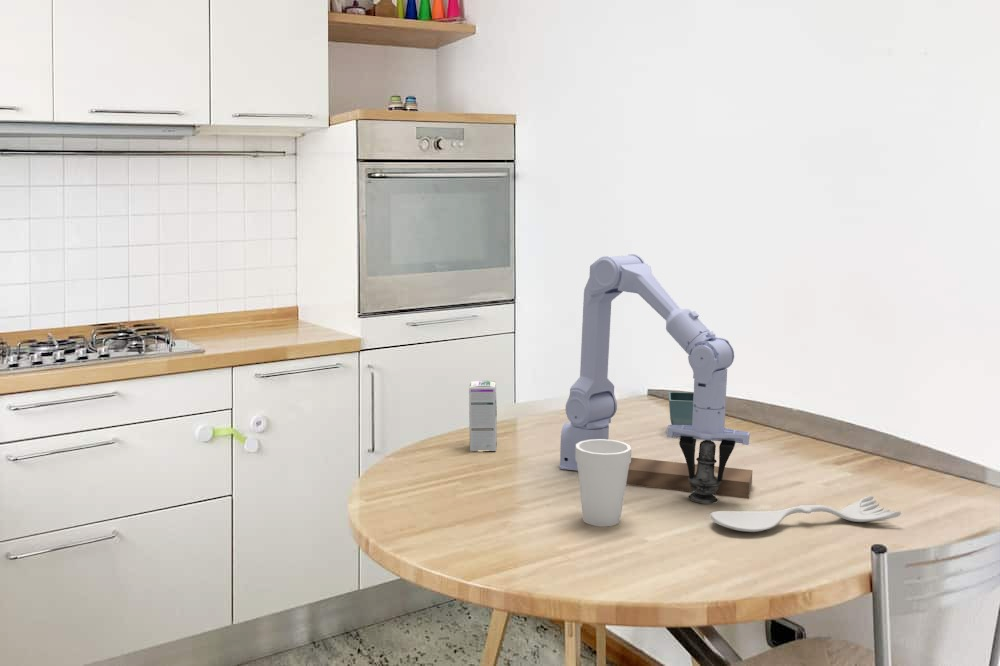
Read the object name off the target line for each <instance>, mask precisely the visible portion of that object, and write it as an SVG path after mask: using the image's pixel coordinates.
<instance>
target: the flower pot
mask: <svg viewBox="0 0 1000 666" xmlns="http://www.w3.org/2000/svg"><path fill="white" fill-rule="evenodd" d="M693 397H694V392H688V391H687V392H685V391H684V392H683V391H682V392H678V391H669V392H668V405H669V406H668V407H669V419H670V423H671V424H670V425H692V419H693Z"/></svg>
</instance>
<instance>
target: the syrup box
mask: <svg viewBox="0 0 1000 666" xmlns="http://www.w3.org/2000/svg"><path fill="white" fill-rule="evenodd" d="M468 395H469V398H468V401H469V402H468V405H469V411H468V412H469V415H468V416H469V451H470V452H472V451H478V450H489V451H496V452H497V446H498V445H497V443H498V442H497V441H498V437H497V436H498V435H497V434H498V433H497V431H498V430H497V429H498V428H497V426H498V425H497V423H498V422H497V421H498V419H497V417H498V415H497V408H498V407H497V382H496V381H494V380H474V381H472V380H471V381H470V384H469V387H468Z"/></svg>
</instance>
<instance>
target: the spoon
mask: <svg viewBox="0 0 1000 666" xmlns="http://www.w3.org/2000/svg"><path fill="white" fill-rule="evenodd" d="M876 502H877V500H875V499H874V496H873V495H872V494H871V495H866V496H865V497H862V498H861V499H858V500H857V501H855V502H853V503H851V504H849V505H846V506H844V507H843V508H842V509H840V510H838V509H835V508H833V507H830V506H828V505H825V504H824V505H823V504H815V505H814V504H813V505H807V504H799V505H798V506H792V507H789V508H783V509H777V510H743V511H741V510H734V511H733V510H719V511H712V512H711V513H710V518H711V520H712V521H713V523H715V524H716V525H719V526H722V527H724V528H727V529H730V530H734V531H738V532H746V533H748V532H749V533H756V532H757V533H758V532H763V531H765V530H766V531H767V530H770V529H773V528H774V527H776V526H778V524H780V523H781V522H782V521H783V520H784V518H786V517H788V516H790V515H792V514H797V513H802V514H811V513H816V512H823V513H828V514H831V515H835V516H836V517H838V518H841V519H843V520H847V521H850V522H856V523H857V522H858V523H864V522H865V523H867V522H873V521H875V522H876V521H880V520H881V521H883V520H889V519H894V518H898V517H899V516H901V514H902V513H901V511H899V510H896V511H895V510H890V509H885V507H879V506H880V503H876ZM884 509H885V510H884Z"/></svg>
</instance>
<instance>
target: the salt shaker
mask: <svg viewBox="0 0 1000 666" xmlns="http://www.w3.org/2000/svg"><path fill="white" fill-rule="evenodd" d="M716 446H717V445H716V443H715V442H714V441H712V440H702V441H701V442H699V448H698V449H699V450H698V457H697V458H696V459H695V460H696V461H697V464H698V465H697V472H696V474H695V475H694V477H693V479H692V478H688V480H689V481H690V486H691V489H692V490H693V491H694V492H691V493H690V494H688V499H689V500H690V501H692V502H695V503H698V504H703V505H704V504H705V505H709V504H715V503H717V502H718V500H719V499H718V497H717V496H715V494H714V493H715V492H716V491H717V490H718V488H719V485H720V484H721V482H719V481H717V478H715V475H714V466H715V464H716V463H717V459H716V458H715V457H716V449H717V448H716Z"/></svg>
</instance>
